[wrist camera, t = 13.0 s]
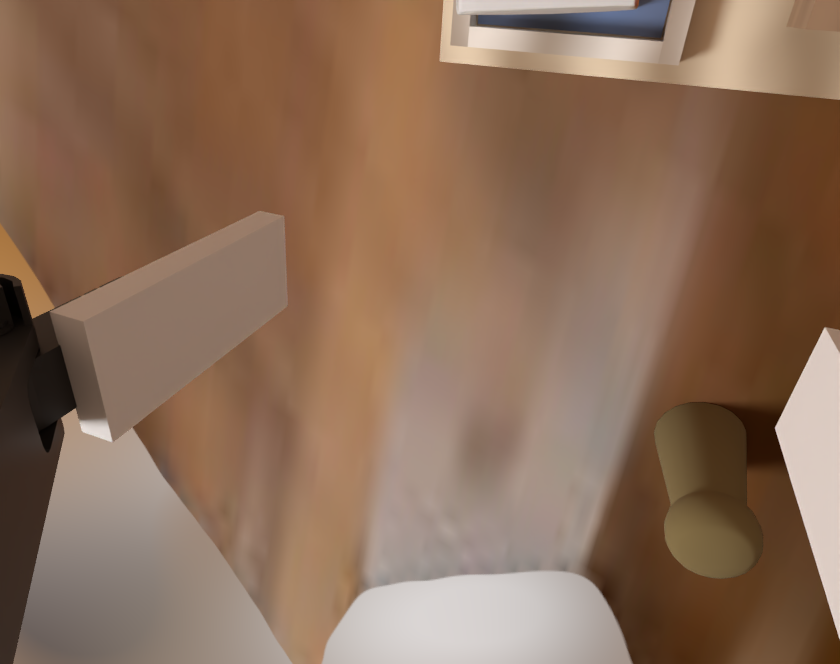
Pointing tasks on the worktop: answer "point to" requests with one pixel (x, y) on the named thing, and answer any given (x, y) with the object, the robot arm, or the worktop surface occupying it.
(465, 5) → the small box
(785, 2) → the board
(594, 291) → the worktop surface
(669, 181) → the worktop surface
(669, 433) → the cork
